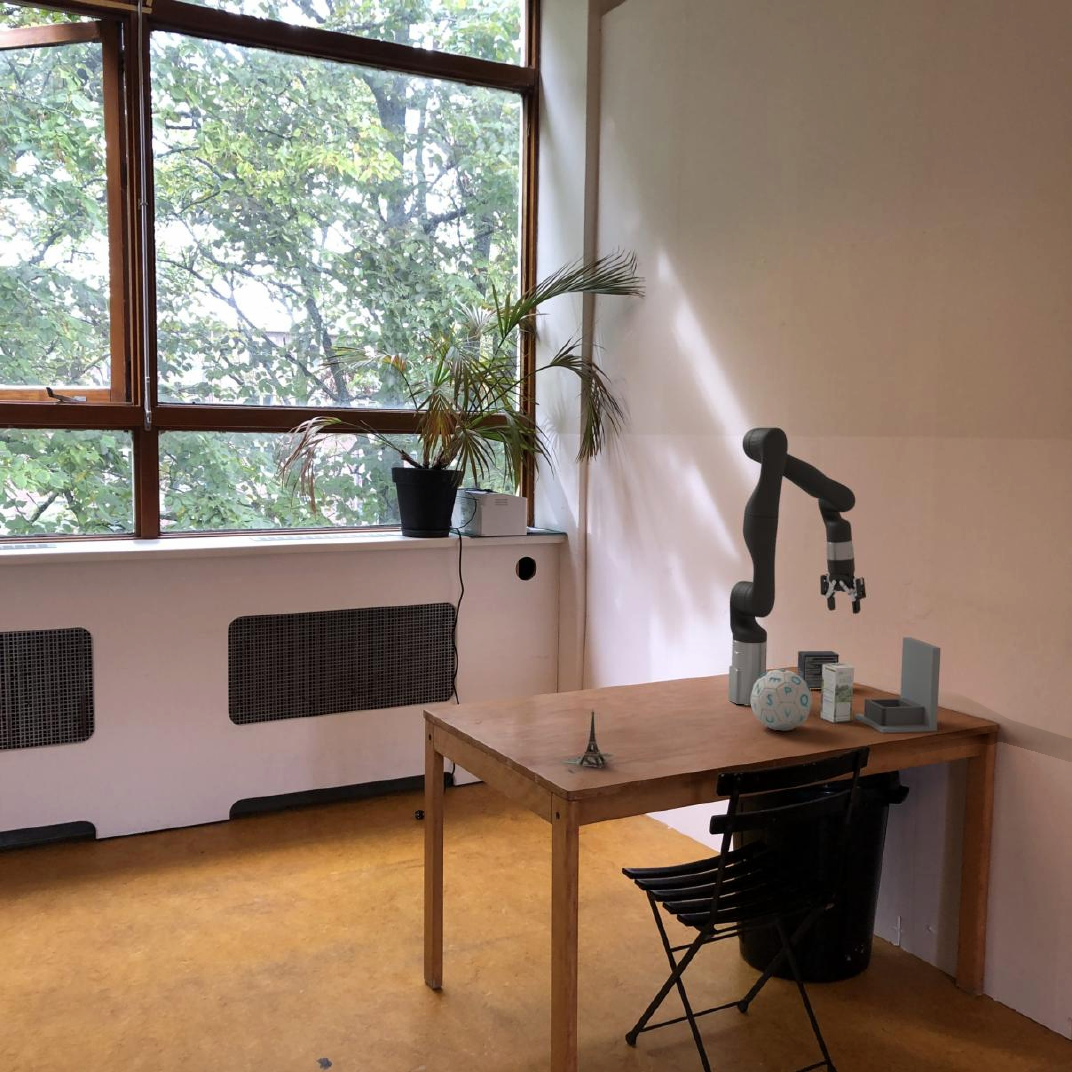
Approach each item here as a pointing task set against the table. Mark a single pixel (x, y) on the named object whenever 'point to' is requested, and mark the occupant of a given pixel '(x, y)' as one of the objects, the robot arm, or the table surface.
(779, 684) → the puzzle ball
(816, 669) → the small box
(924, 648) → the wall holder
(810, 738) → the table surface
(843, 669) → the syrup box
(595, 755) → the eiffel tower figurine
